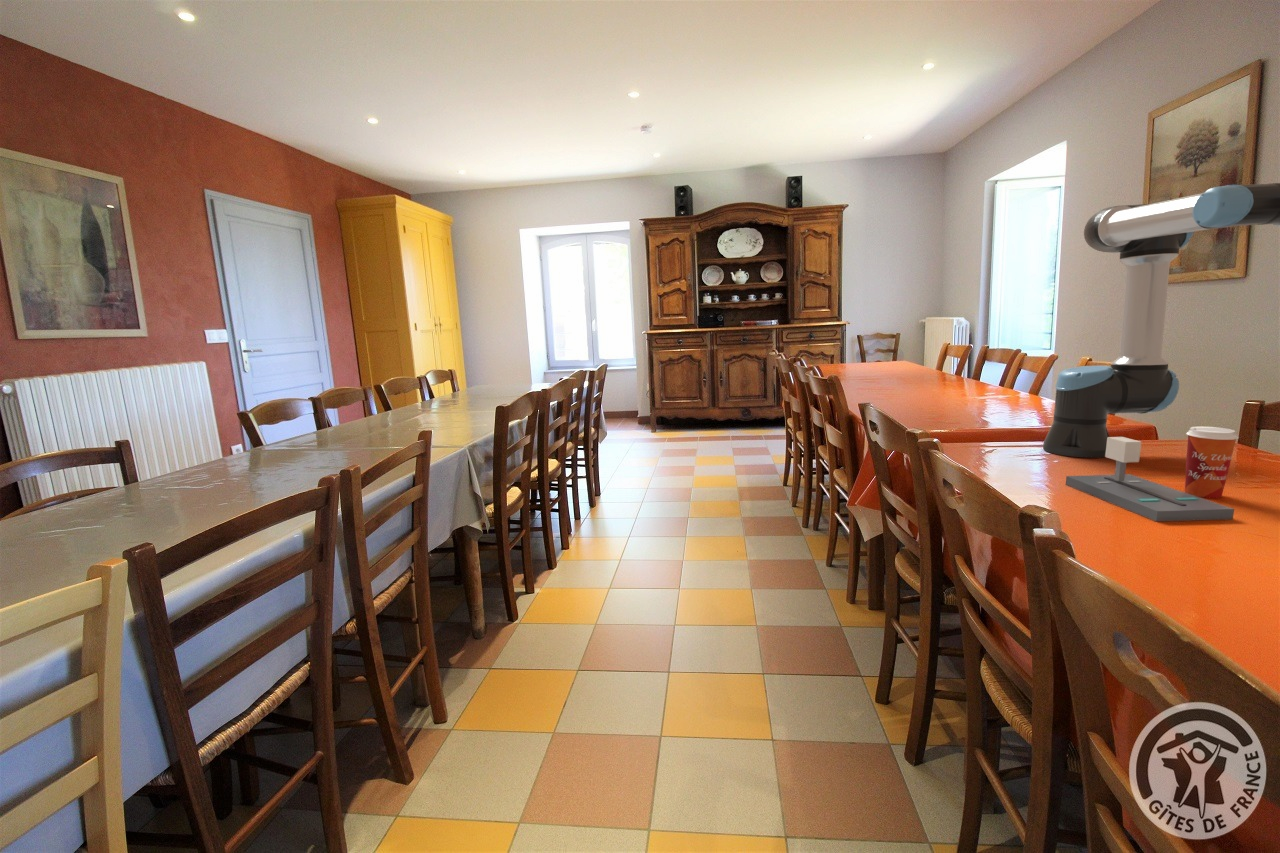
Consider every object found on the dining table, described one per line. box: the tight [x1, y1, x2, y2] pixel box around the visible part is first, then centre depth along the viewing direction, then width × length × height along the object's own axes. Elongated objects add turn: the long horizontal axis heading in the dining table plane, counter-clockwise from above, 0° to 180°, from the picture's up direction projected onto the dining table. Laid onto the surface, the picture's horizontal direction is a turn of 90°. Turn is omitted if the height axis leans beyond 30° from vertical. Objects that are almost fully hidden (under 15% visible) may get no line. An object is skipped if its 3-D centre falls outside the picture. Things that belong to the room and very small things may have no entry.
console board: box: [1065, 473, 1235, 522], centre depth 119 cm, size 24×14×2 cm, turn 179°
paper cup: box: [1184, 426, 1240, 499], centre depth 120 cm, size 8×8×14 cm
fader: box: [1104, 436, 1142, 481], centre depth 124 cm, size 5×3×9 cm, turn 179°
